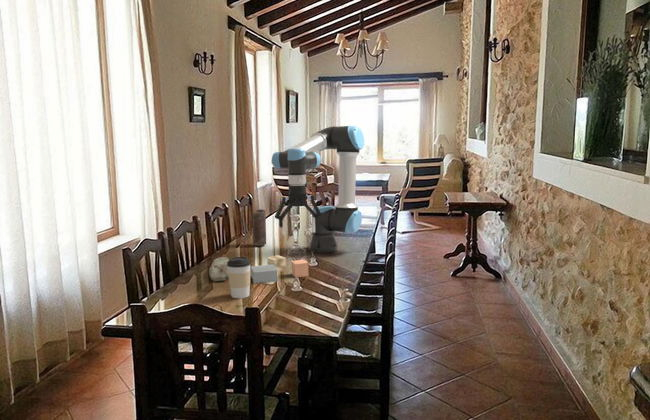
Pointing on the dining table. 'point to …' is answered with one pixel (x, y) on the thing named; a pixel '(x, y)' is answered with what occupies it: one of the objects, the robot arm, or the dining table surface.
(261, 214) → the candle
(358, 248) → the dining table surface
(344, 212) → the robot arm
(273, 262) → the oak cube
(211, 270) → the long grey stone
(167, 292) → the dining table surface
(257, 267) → the slate base
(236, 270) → the coffee cup
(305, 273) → the terracotta cube
